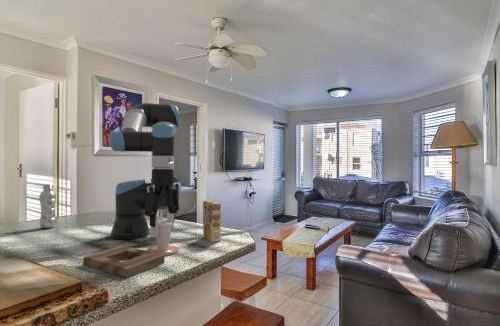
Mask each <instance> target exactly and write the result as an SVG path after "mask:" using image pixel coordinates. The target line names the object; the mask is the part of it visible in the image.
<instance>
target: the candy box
mask: <svg viewBox="0 0 500 326" xmlns="http://www.w3.org/2000/svg"><path fill="white" fill-rule="evenodd" d="M221 205H222V203H221V202H218V201H214V200H203V201H202V229H203V230H202V233H203V235H202V236H203V238H204V239H206V240H207V241H210V242H211V243H216V242H221V241H222V240H221V239H222V236H221V234H222V231H221V230H222V228H221V227H222V225H221V222H222V218H221V216H222V215H221V208H222V207H221Z"/></svg>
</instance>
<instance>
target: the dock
mask: <svg viewBox="0 0 500 326" xmlns="http://www.w3.org/2000/svg"><path fill="white" fill-rule="evenodd" d="M82 259H83V260H82V261H83V263H82V264H84V265H83V266H86V265H87V267H89V266H90V267H89V268H92V267H93V269H96V270H99V271H101V272H106V273H109V274H111V275H112V274H113V275H115V276H119V277H123V278H126V279H128V278H131V277H133V276H135V275H137V274H140V273H143V272H145V271H148V270H151V269H153V268H155V267H158V266H160V265H163V264H165V256H164V255H162V254H158V253H153V252H149V251H146V250H144V249H139V248H136V247H131V246H126V245H122V244H121V245H119V246H116V247H115V246H114V247H112V248H108V249H105V250H102V251H99V252H95V253H94V252H93V253H92V254H88V255H84V256H83V258H82ZM125 259H127V260H125Z"/></svg>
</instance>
